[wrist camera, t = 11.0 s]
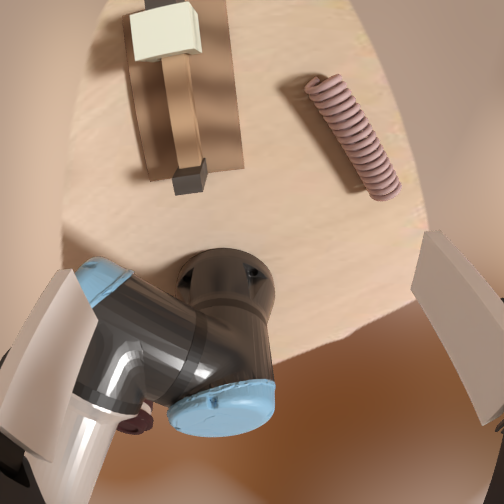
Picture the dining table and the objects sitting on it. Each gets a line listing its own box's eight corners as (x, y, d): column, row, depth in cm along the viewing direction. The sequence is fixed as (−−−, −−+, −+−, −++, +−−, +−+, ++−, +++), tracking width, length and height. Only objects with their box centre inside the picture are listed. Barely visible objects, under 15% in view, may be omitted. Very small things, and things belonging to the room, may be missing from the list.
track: (244, 166, 37) (245, 186, 31) (151, 179, 37) (136, 201, 32) (225, -4, 25) (222, -21, 19) (124, 17, 25) (101, 8, 20)
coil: (304, 89, 29) (378, 211, 37) (340, 68, 27) (408, 194, 35) (299, 85, 32) (369, 195, 41) (331, 66, 31) (396, 179, 39)
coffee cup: (137, 382, 63) (126, 439, 50) (107, 359, 58) (91, 418, 45) (170, 374, 61) (162, 436, 48) (140, 348, 56) (125, 414, 43)
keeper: (202, 53, 28) (194, 48, 23) (153, 62, 28) (135, 60, 23) (197, 14, 26) (188, 1, 20) (149, 24, 26) (129, 15, 20)
